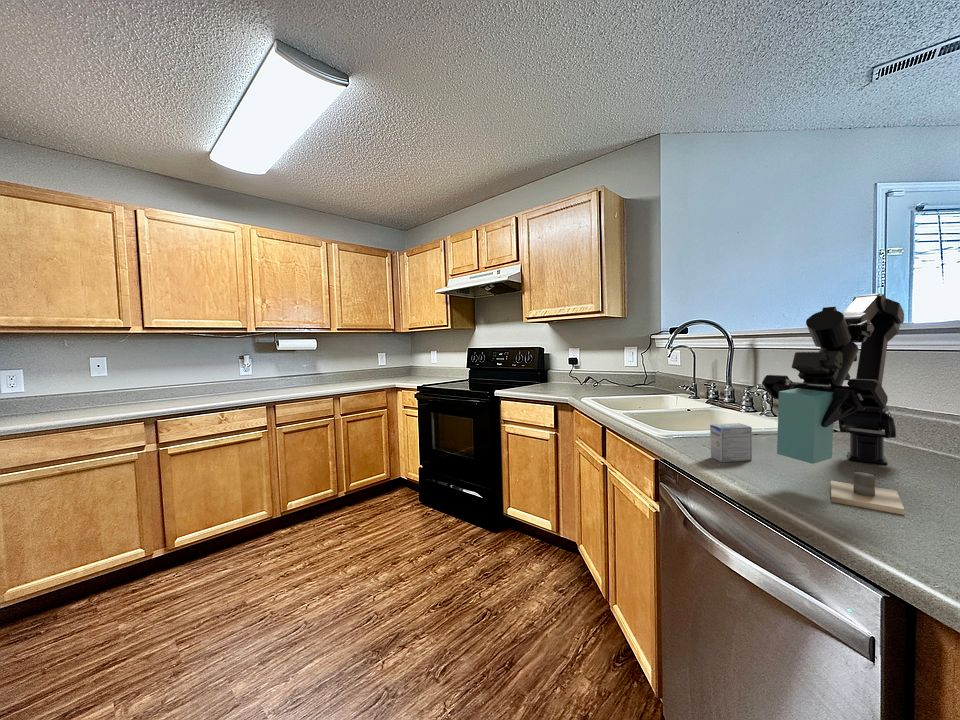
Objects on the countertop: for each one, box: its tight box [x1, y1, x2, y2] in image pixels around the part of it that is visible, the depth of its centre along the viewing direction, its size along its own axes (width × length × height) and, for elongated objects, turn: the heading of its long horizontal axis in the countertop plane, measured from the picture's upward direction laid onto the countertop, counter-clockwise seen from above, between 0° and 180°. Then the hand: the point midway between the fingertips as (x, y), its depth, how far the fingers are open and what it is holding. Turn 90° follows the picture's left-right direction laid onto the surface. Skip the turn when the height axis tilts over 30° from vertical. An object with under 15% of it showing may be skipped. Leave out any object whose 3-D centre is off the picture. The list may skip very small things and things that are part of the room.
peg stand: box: [830, 471, 905, 516], centre depth 70 cm, size 10×9×4 cm
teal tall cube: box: [776, 388, 834, 465], centre depth 76 cm, size 6×6×13 cm
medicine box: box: [709, 422, 753, 463], centre depth 96 cm, size 8×4×9 cm, turn 92°
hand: (802, 423), depth 75 cm, fingers closed on teal tall cube, 6 cm apart
